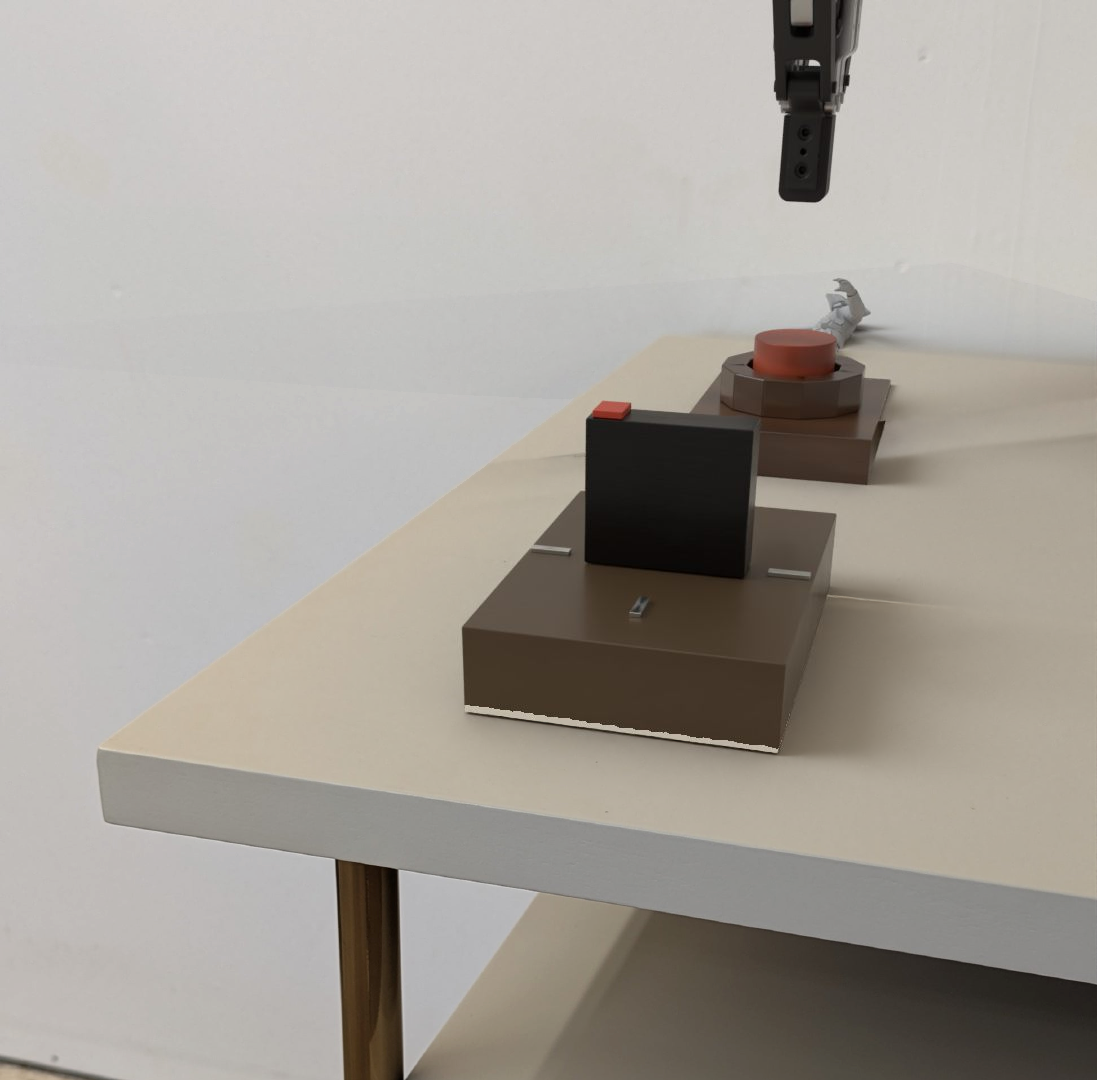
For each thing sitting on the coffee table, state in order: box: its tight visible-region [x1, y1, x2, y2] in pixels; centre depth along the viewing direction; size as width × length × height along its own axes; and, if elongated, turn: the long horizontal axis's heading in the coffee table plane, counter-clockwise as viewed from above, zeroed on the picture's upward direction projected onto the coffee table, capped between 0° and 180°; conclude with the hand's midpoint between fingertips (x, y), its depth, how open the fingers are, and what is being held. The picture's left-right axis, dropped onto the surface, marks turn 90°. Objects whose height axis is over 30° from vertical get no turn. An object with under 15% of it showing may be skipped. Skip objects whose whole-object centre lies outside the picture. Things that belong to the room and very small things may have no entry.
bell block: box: [689, 350, 892, 486], centre depth 70 cm, size 12×9×4 cm
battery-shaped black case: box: [584, 400, 761, 578], centre depth 47 cm, size 6×2×5 cm, turn 74°
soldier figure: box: [812, 277, 872, 353], centre depth 83 cm, size 8×5×12 cm
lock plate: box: [461, 490, 837, 749], centre depth 48 cm, size 14×10×3 cm
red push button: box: [753, 328, 837, 376], centre depth 69 cm, size 4×4×2 cm
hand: (803, 199), depth 66 cm, fingers closed
